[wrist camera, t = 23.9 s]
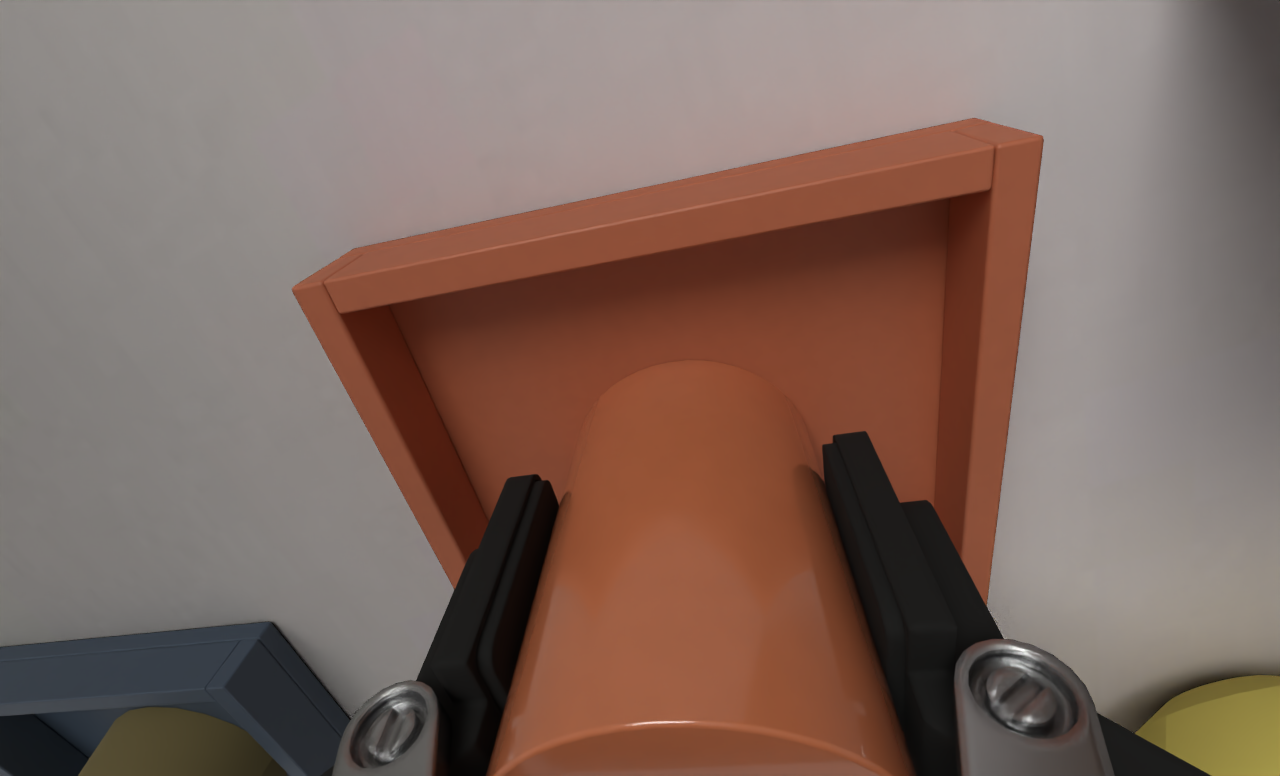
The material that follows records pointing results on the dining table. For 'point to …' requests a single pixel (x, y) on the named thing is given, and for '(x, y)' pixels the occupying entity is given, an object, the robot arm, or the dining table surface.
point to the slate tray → (162, 695)
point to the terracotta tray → (706, 321)
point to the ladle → (1223, 727)
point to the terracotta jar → (697, 600)
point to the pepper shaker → (178, 747)
